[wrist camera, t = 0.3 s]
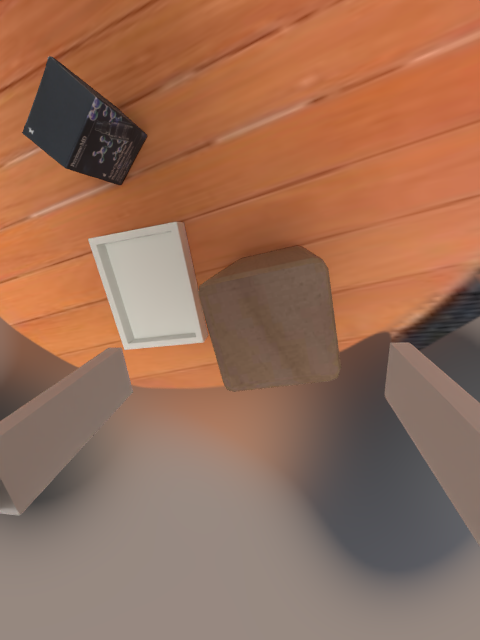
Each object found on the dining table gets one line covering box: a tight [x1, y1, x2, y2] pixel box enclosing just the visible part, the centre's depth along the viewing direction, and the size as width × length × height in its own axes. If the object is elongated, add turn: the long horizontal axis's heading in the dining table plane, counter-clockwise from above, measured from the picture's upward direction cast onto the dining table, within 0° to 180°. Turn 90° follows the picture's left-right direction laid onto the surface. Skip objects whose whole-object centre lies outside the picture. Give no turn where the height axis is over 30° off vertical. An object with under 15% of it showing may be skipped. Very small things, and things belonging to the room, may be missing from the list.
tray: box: [88, 222, 208, 350], centre depth 40 cm, size 18×14×3 cm
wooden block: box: [199, 246, 341, 392], centre depth 29 cm, size 10×10×20 cm
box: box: [22, 56, 147, 185], centre depth 30 cm, size 8×6×11 cm
